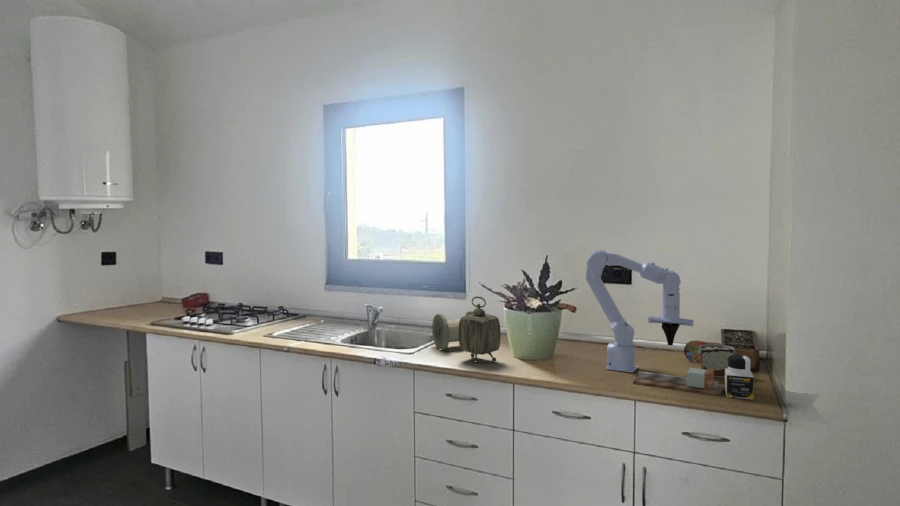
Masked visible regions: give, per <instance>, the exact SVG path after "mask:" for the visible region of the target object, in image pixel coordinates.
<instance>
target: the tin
mask: <svg viewBox="0 0 900 506" xmlns="http://www.w3.org/2000/svg"><path fill="white" fill-rule="evenodd" d="M705 344H719V345H723V344H721V343H718V342H713V341H705V340H697V339H696V340H691V341H688V342H687V343H686V344H685V346H684V347H683V348H684V349H683V354H684V357H685V358H686V360H687V361H689V362H691V363H692V364H697V365H698V364H699V365H701V358H700V354H699V353H698V350H699V348H700V346H701V345H705Z"/></svg>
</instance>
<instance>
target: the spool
mask: <svg viewBox="0 0 900 506" xmlns="http://www.w3.org/2000/svg"><path fill="white" fill-rule="evenodd" d="M473 311H474V310H468V311H467V312H466V313H465V314H464V315H465V316H468V315H472V313H473ZM460 319H461V318H460ZM460 319H449V320H447V317H445V315H444V314H443V313H436V314H435V315H434V317H433V319H432V325H431V329H432V330H431V331H432V340H433V342H434V346H435V347H436V349H437V348H439V349H441V350H442V351H446V350H447V349H448V347H449V344H450V343H454V342H459V322H460ZM439 349H438V350H439Z"/></svg>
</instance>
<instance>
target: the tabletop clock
mask: <svg viewBox="0 0 900 506" xmlns="http://www.w3.org/2000/svg"><path fill="white" fill-rule="evenodd" d="M475 299H480V300H483V302H484V304H483V305H481V304H480V303H477V304H474V300H475ZM486 303H487V301H486V299H485V298H484V297H482V296H473V298H472V299H471V304H472V306H473V307H475V308H474V310H472V311H473V313H472V315H468V316H461V317H460V322H459V341H458V344H459V349H461V350H463V351H465V352H467V353H470V357H471V358H473V362H474V361H477V362H478V361H479V360H478V358H477V357H478V355H482V356H483V355H486V354H487V355H489V356H490V358H491V361H492V362H493V361H495V362H496V361H497V358H496V357H494V356H493V354H492V353H494V352H496V351H499V350H500V347H501V336H502V335H501V334H502V333H501V323H500V320H499V318H498V317H497V316H496V315H494V314H490V313H489V314H488V313H486V311H485V310H484V309H483V308H485V307H486V305H487V304H486Z"/></svg>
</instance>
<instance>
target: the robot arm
mask: <svg viewBox="0 0 900 506" xmlns="http://www.w3.org/2000/svg"><path fill="white" fill-rule="evenodd" d="M606 266H608V267H611V266H612V267H613V266H620V267H622V268H625V269H628V270H631V271H634V272H637V273H639V275H640V277H641V278H642V279H645V280H647V281H650V282H652V283H655V284H657V285H661V284H662V293H661V316H649V317H648V319H647V320H648V324H661V329H662V331H663V332H664V336H665V337H666V341H667V346H673V345H674V340H675V337H676V335H677V332H678V330H679V328H680V326H688V327H694V324H695V323H694V322H695V321H694V319H689V318H680V317H681V316H680V308H681V307H680V306H681V294H680V289H681V288H680V286H681V284H682V283H681V282H682V281H681V277H680V275H679V274H678V273H677V272H675V271H674V270H669V269H670V268H667V267H666V268H663V267H661V266H659V265H656V263H655V262H652V261H651V262H645V263H640V262H638V261H635V260H633V259H631V258H629V257H626V256H623V255H622V254H618V253H616V252H612V251H606V250H604V249H597V250H595V251H593V252H592V253H590V254H589V257H588V259H587V260H586V273H585V274H586V275H585V279H586V280H585V281H586V282H587V284H588V285H589V287H590V289H591V291H592V293H593V294H594V297H595V299H596V300H597V302H598V304H599V305H600V307H601V309H602V311H603V312H604V315H605V316H606V318H607V320H608V322H609V324H610V327H611V330H612V331H613V334H614V340H615V341H614V342H613V343H612V342H609V343H608V344H607V347H606V367H605V369H606V370H611V371H618V372H623V373H624V372H626V373H634V372H635V371H636V370H637V369H638V368H639V366H638V365H636V343H635V342H634V335H635V330H634V328H633V326H631V325H630V324H629V323H628V322H627V320H626V319H625V318H624V317H623V316H622V315H623V314H621V311H620V310H619V309H618V307H617V305H616V303H615V301H614V299H613V297H612V296H611V294H610V292H609V290H608V288H607V287H606V285H605V283H604V282H603V280H602V274H603V271H604V269H605V267H606Z"/></svg>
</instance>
